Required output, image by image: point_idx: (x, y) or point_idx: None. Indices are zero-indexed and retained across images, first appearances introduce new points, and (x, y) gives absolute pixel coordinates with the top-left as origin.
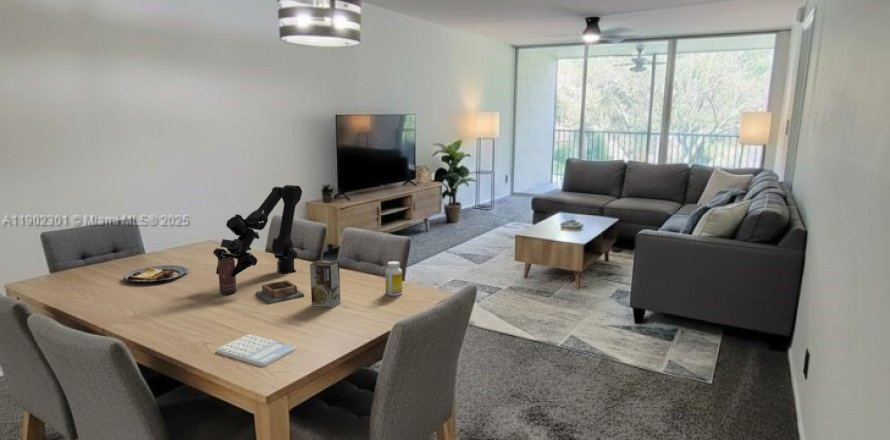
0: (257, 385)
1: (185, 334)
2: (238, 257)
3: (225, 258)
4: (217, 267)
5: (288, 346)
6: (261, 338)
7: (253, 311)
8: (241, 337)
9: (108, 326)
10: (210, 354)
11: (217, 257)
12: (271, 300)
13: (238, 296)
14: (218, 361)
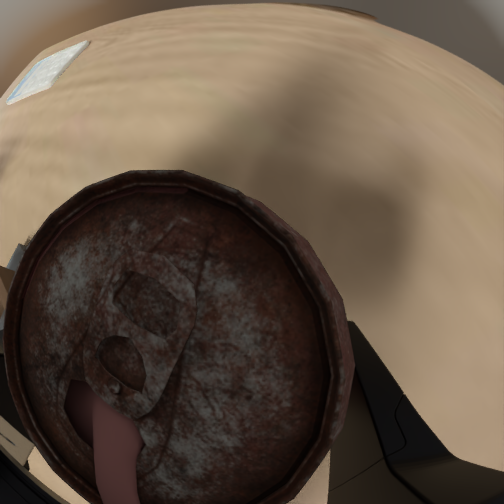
0: (46, 50)
1: (162, 33)
2: (34, 498)
3: (233, 486)
4: (378, 365)
5: (11, 97)
6: (33, 84)
7: (50, 170)
8: (58, 70)
9: (358, 19)
10: (96, 38)
11: (485, 469)
12: (14, 253)
13: None
14: (83, 39)
